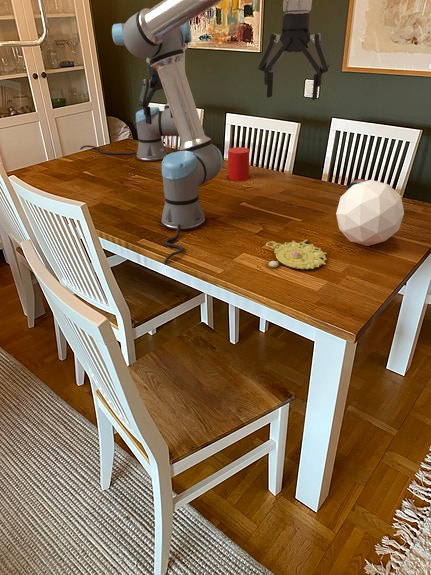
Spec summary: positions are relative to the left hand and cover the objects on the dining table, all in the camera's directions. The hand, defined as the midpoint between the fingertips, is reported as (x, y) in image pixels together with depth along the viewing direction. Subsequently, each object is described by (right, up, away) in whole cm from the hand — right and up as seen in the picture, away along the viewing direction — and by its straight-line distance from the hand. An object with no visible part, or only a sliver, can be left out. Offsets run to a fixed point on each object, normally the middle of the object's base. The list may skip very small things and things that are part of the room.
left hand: (161, 120), depth 182 cm
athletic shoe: (+77, -39, -20) cm, 89 cm away
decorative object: (+47, -59, -50) cm, 90 cm away
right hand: (+45, -13, -53) cm, 70 cm away
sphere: (+69, -54, -43) cm, 98 cm away
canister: (+33, -20, +12) cm, 40 cm away
